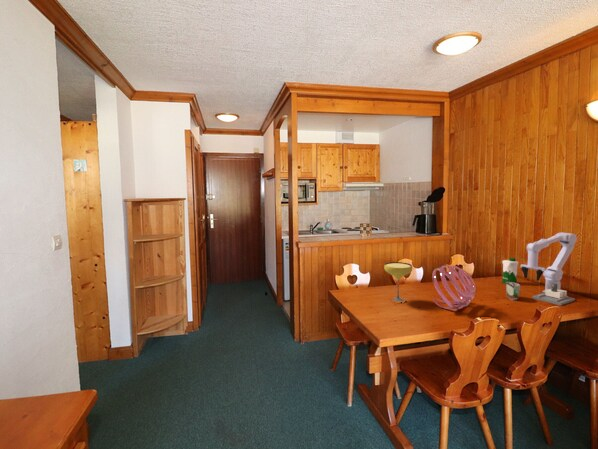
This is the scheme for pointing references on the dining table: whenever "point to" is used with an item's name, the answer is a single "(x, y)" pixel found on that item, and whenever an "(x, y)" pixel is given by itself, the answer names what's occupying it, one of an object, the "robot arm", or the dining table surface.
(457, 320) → the dining table surface
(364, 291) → the dining table surface
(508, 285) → the food container
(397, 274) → the cocktail glass
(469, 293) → the spiral basket
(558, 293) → the sliding jaw
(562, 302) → the base
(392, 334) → the dining table surface
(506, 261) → the milk carton
